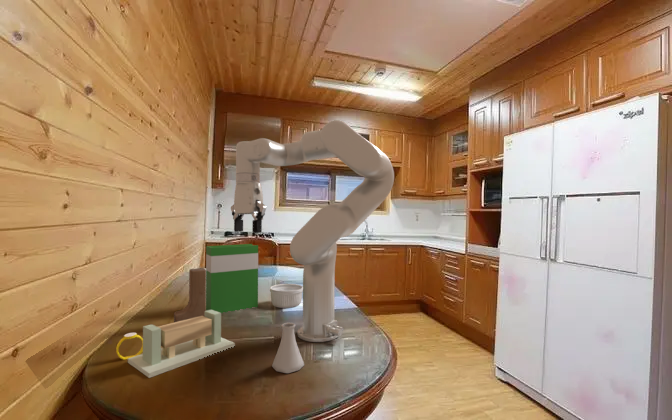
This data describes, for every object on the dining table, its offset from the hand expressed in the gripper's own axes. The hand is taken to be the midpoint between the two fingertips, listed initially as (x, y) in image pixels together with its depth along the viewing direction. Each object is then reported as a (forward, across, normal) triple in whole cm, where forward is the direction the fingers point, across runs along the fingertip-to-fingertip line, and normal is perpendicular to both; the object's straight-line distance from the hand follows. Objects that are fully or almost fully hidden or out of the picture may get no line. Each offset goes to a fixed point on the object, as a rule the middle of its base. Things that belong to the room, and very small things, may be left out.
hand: (247, 232), depth 108 cm
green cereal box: (+31, +20, -8) cm, 37 cm away
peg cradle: (+30, -6, +24) cm, 39 cm away
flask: (+31, -32, +12) cm, 46 cm away
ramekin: (+31, +8, -25) cm, 40 cm away
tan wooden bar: (+26, -6, +24) cm, 36 cm away
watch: (+31, +3, +33) cm, 45 cm away
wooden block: (+31, +14, +12) cm, 36 cm away
